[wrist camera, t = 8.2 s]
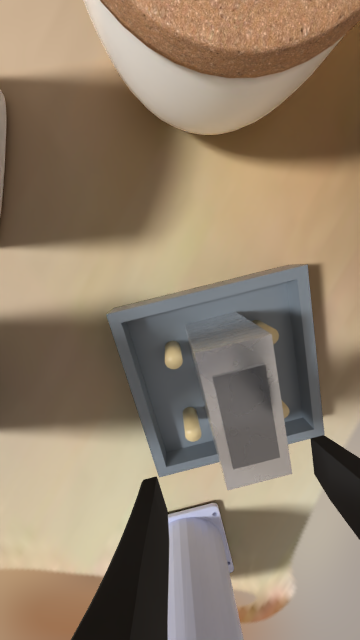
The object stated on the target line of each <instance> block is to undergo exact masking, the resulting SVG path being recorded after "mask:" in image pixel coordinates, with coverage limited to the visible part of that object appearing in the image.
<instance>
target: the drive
mask: <svg viewBox="0 0 360 640" xmlns="http://www.w3.org/2000/svg"><path fill="white" fill-rule="evenodd" d="M185 328H186V332H187V336H188V340H189V344H190V349H191V353H192V357H193V361H194V365H195V369H196V373H197V377H198V382H199V386H200V390H201V394H202V398H203V402H204V406H205V410H206V415H207V419H208V423H209V426H210V430H211V434H212V437H213V441H214V444H215V448H216V451H217V455H218V458H219V462H220V465H221V469H222V472H223V476H224V479H225V483H226V487H227V490H231V489H235V488H239V487H242V486H246V485H250V484H254V483H258V482H262V481H266V480H270V479H273V478H277V477H281V476H285V475H289V474H292V469H291V462H290V456H289V449H288V442H287V435H286V428H285V422H284V415H283V408H282V401H281V394H280V388H279V381H278V374H277V367H276V360H275V354H274V347H273V340H272V334H270V333H269V332H267V331H266V330H264V329H262V328H261V327H259V326H258V325H256V324H254V323H253V322H251V321H250V320H248V319H246V318H245V317H243V316H242V315H240V314H238V313H237V312H232V313H228V314H224V315H220V316H216V317H212V318H208V319H204V320H200V321H196V322H192V323H188V324H185Z"/></svg>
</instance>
